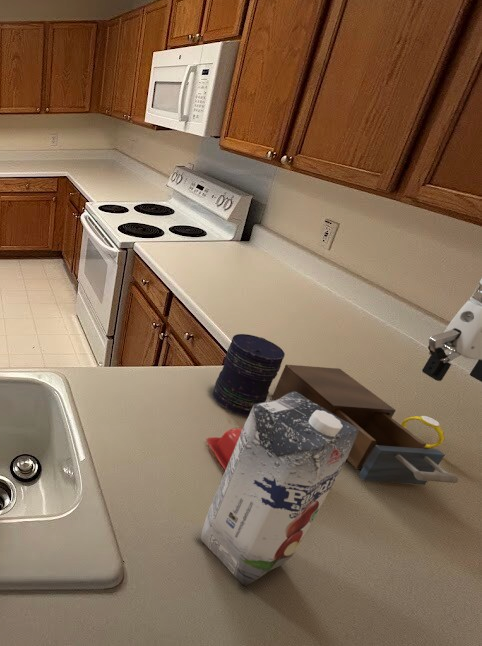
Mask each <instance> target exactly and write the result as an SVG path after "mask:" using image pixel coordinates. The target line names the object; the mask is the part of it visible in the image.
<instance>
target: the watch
mask: <svg viewBox="0 0 482 646" xmlns="http://www.w3.org/2000/svg"><path fill="white" fill-rule="evenodd" d="M414 420H415V421H420V422H421V423H422V424H423V425H426V426H427V427H430V428H432V429H434V430H435V431H436V433H437V435H438V441H437V442H436V443H434V444H427V443H425V444H426V445H425V447H424V449H434V448H436V447H438V446H440V445H442V443H443V442H444V440H445V435H444V433H445V432H444V430H443V429H442V428H441V426H440V425H441V424H440V422H438V421H437V420H436V419H434V418H432V417H430V416H427V415H421V416H418V415H414V416H409V417H407V418H405V419H404V420H403V421H402V422H401V424H400V425H402V426H403V427H404V428H406V429H407V423H409V421H414Z"/></svg>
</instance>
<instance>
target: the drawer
mask: <svg viewBox="0 0 482 646" xmlns="http://www.w3.org/2000/svg"><path fill="white" fill-rule="evenodd" d="M333 414H334V415H336V416H337V417H339V418H341V419H342V420H344V421H346V422H348V423H349V424H351V425H353V426H355V427H356V428H357V429H359V432H358V434H357V437H356V439H355V441H354V443H353V446H352V448H351V450H350V453H349V455H348V457H347V460H346V461H348V462H349V463H350V464H351V465H352V466H353V467H354V468H355V469H360V471H359V473H358V477H359V478H360V479H361V480H362V481H364V482H374V483H375V482H376V483H387V484H388V483H391V484H405V485H418V486H419V485H420V486H425V485H426V484H427V483H428V482H435V483H450V484H451V483H452V484H457V483H458V482H459V478H458V476H457V475H456V474H454V473H450V472H448V471H446V470H445V469H444V468H443V467H441V466H440V463H441V462H442V461H443V460H444V457H445V456H446V454H445V453H443V452H442V451H441V450H439V449H437V448H435V449H434V448H424V447H425V445H426V444H427V443H425V442H424V441H423V440H421V439H420V438H419V437H417V436H416V435H415V434H414V433H412V432H411V431H410V430H408V429H407V427H406V428H404V427H403V426H402V425H401V424H400V423H399V422H397V420H396V419H393V417H392V418H391V417H390V416H389V415H387V414H386V413H384V412H370V411H356V410H343V409H335V411H334V413H333ZM436 471H437V472H436Z"/></svg>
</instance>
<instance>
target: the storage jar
mask: <svg viewBox="0 0 482 646" xmlns="http://www.w3.org/2000/svg"><path fill="white" fill-rule="evenodd" d="M285 355H286V353H285V351H284V350H283V349H282V348H281V347H280V346H279V345H277V344H276V343H274V342H272V341H270V340H268V339H266V338H264V337H260V336H256V335H252V334H246V333H238V334H235V335H233V336H232V339H231V342H230V344H229V346H228V348H227V351H226V354H225V357H224V361H225V362H224V364H223V367H222V369H221V371H220V372H219V374H218V377H217V378H216V381H215V385H214V389H213V390H212V397H213V399H214V400H215V402H216V403H217V404H218V405H220V406H221V407H222V408H224V409H225V410H227V411H229V412H231V413H233V414H235V415H239V416H242V417H247V418H248V417H249V414H250V412H251V410H252V407H253V405H255V404H258V403H263V402H267V400H268V399H267V398H268V396H269V394H270V393H269V390H270V387H271V386H272V383H273V381H274V380H275V378H276V377H277V376H278V372H279V371H280V369H281V366H282V362H283V360H284V358H285Z"/></svg>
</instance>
